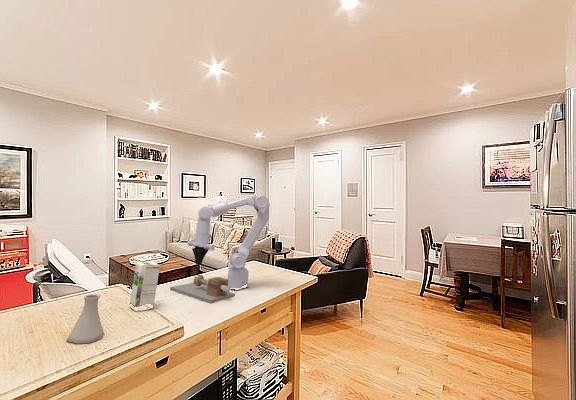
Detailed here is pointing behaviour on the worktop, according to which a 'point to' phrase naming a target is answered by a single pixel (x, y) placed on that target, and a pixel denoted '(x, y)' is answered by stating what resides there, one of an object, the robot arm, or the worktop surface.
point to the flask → (87, 322)
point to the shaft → (200, 280)
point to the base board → (199, 292)
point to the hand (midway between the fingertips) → (198, 264)
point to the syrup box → (144, 283)
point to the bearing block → (216, 286)
